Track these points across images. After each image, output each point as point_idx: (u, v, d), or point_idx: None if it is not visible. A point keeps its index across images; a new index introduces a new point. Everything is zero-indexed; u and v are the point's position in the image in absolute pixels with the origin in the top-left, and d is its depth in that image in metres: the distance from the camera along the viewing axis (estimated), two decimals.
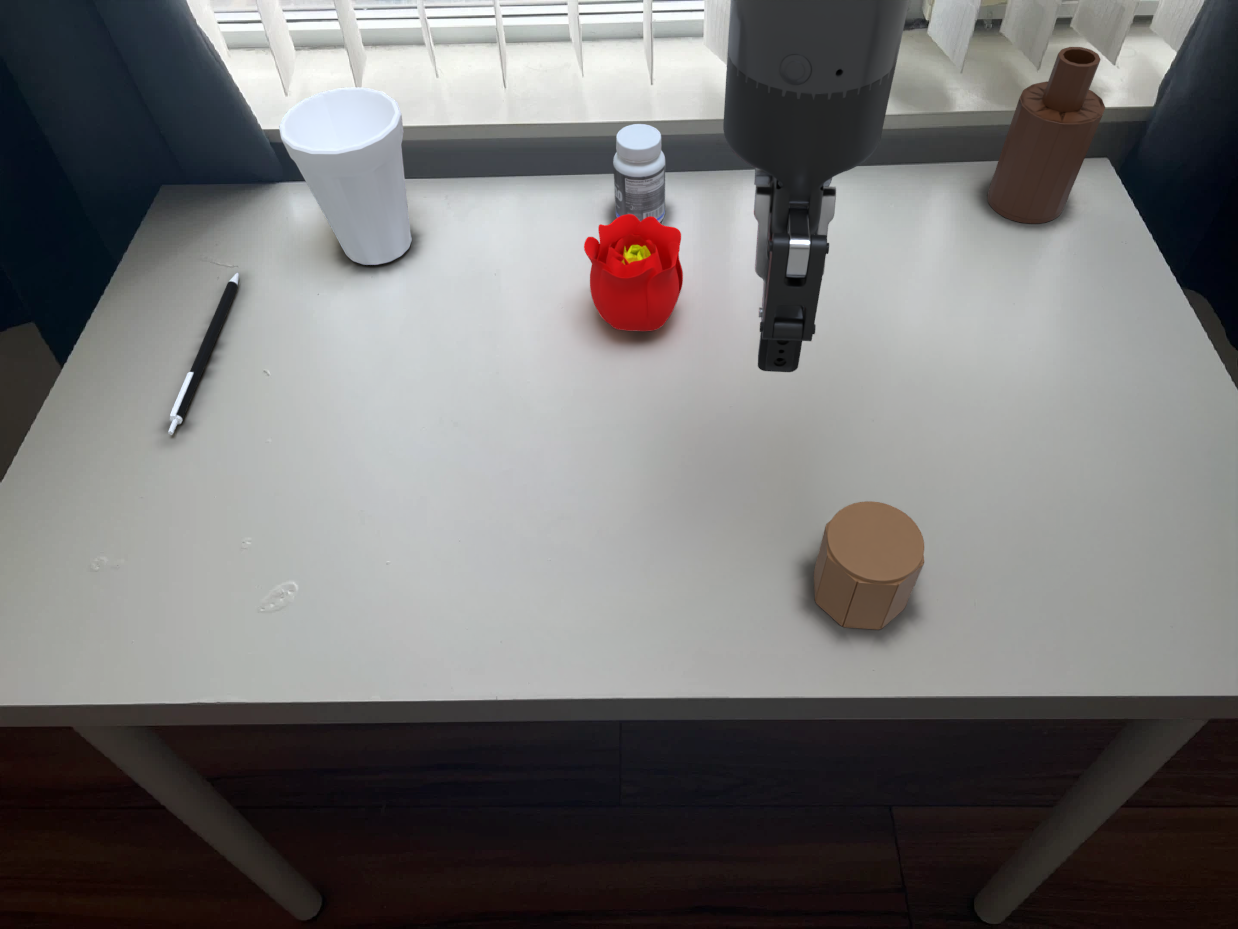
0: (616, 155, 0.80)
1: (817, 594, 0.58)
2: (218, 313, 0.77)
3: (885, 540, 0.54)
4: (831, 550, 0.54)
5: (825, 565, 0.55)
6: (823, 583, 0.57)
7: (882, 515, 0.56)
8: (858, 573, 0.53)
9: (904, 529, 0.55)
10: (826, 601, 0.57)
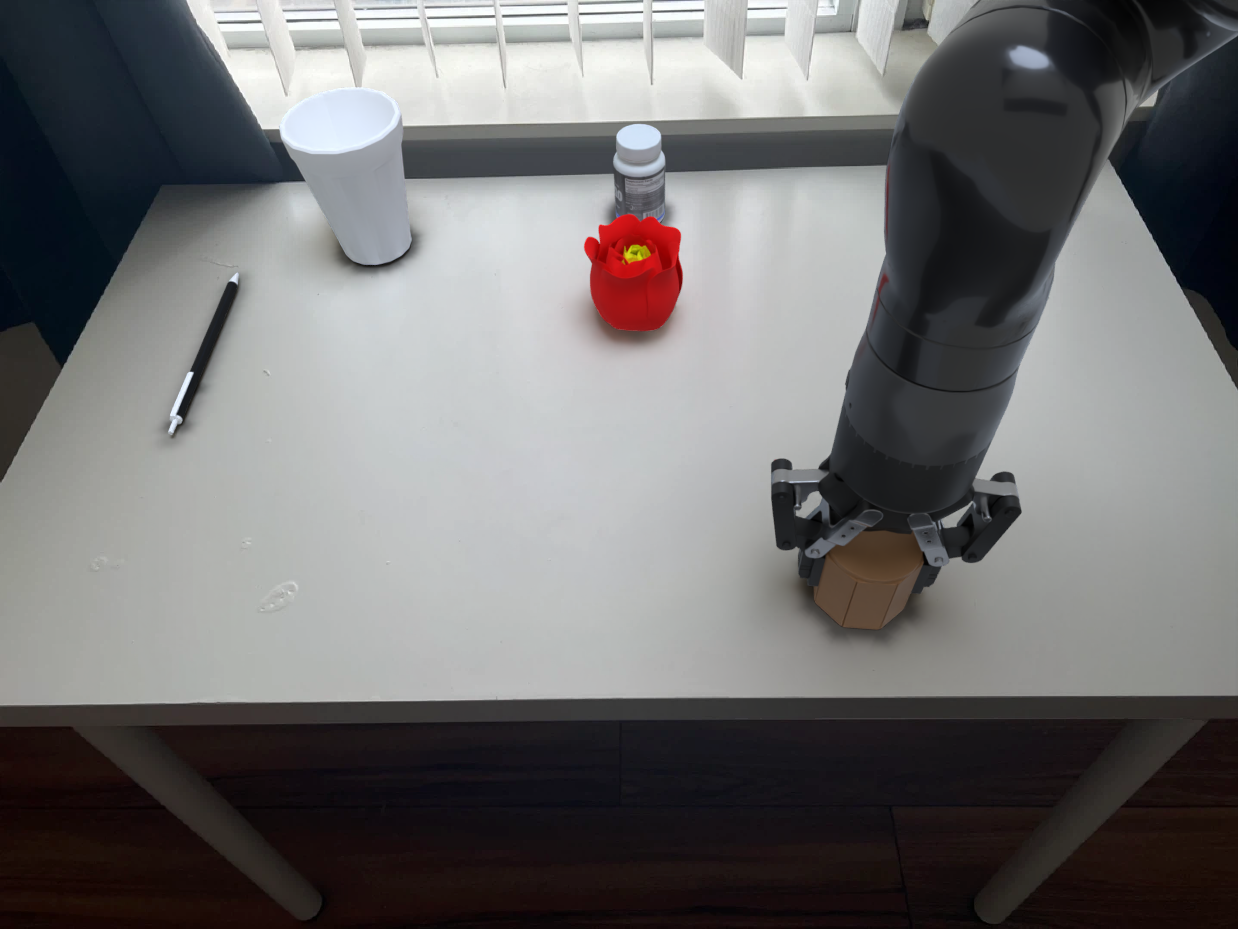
0: (616, 155, 0.80)
1: (816, 594, 0.58)
2: (218, 313, 0.77)
3: (884, 540, 0.54)
4: (830, 550, 0.54)
5: (824, 565, 0.55)
6: (822, 583, 0.57)
7: None
8: (858, 573, 0.53)
9: None
10: (826, 601, 0.57)
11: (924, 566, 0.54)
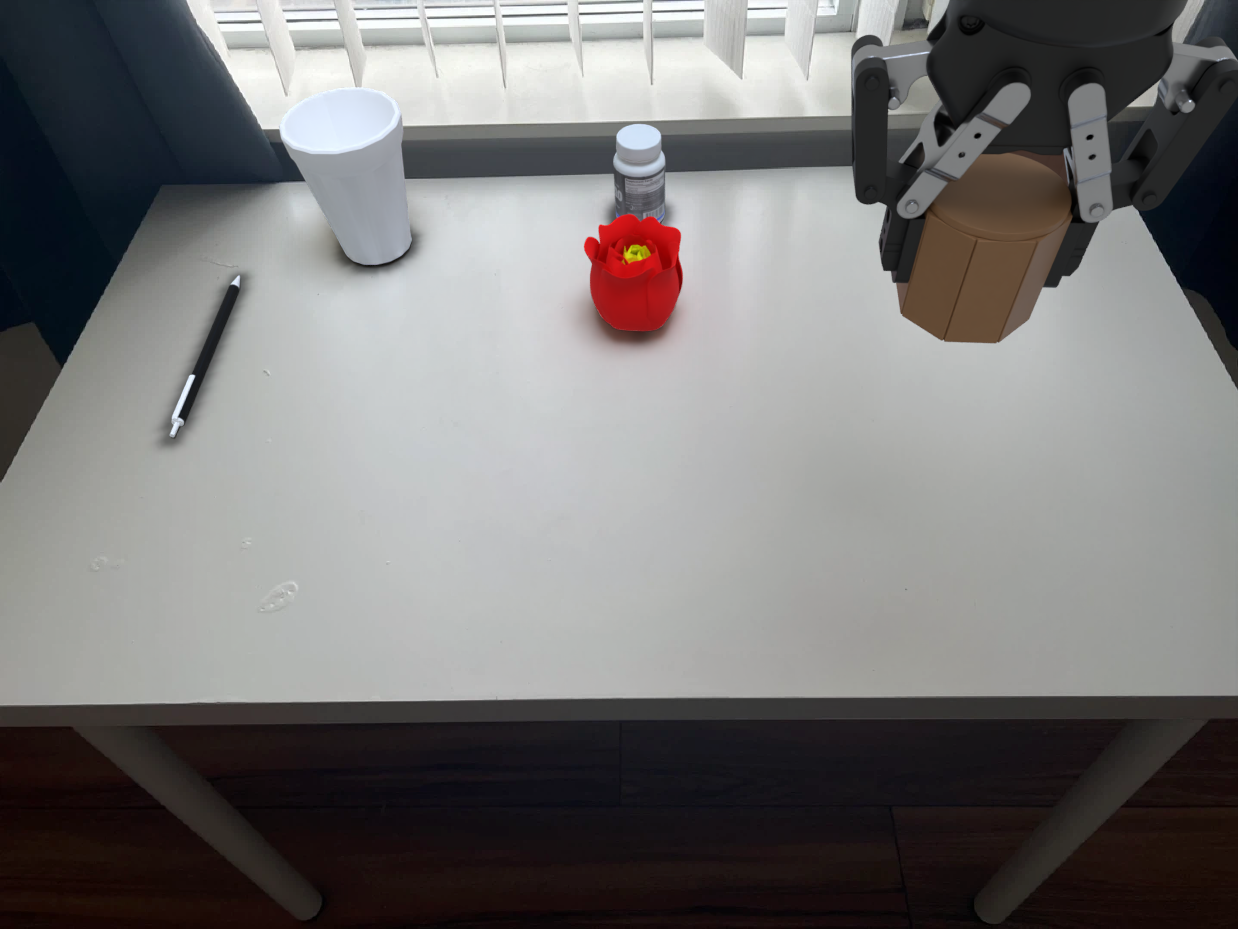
0: (616, 155, 0.80)
1: (905, 298, 0.41)
2: (219, 316, 0.77)
3: (1012, 190, 0.37)
4: (934, 203, 0.37)
5: (923, 234, 0.38)
6: (917, 271, 0.39)
7: (1004, 164, 0.38)
8: (978, 226, 0.36)
9: (1038, 178, 0.38)
10: (920, 303, 0.40)
11: (1072, 225, 0.37)
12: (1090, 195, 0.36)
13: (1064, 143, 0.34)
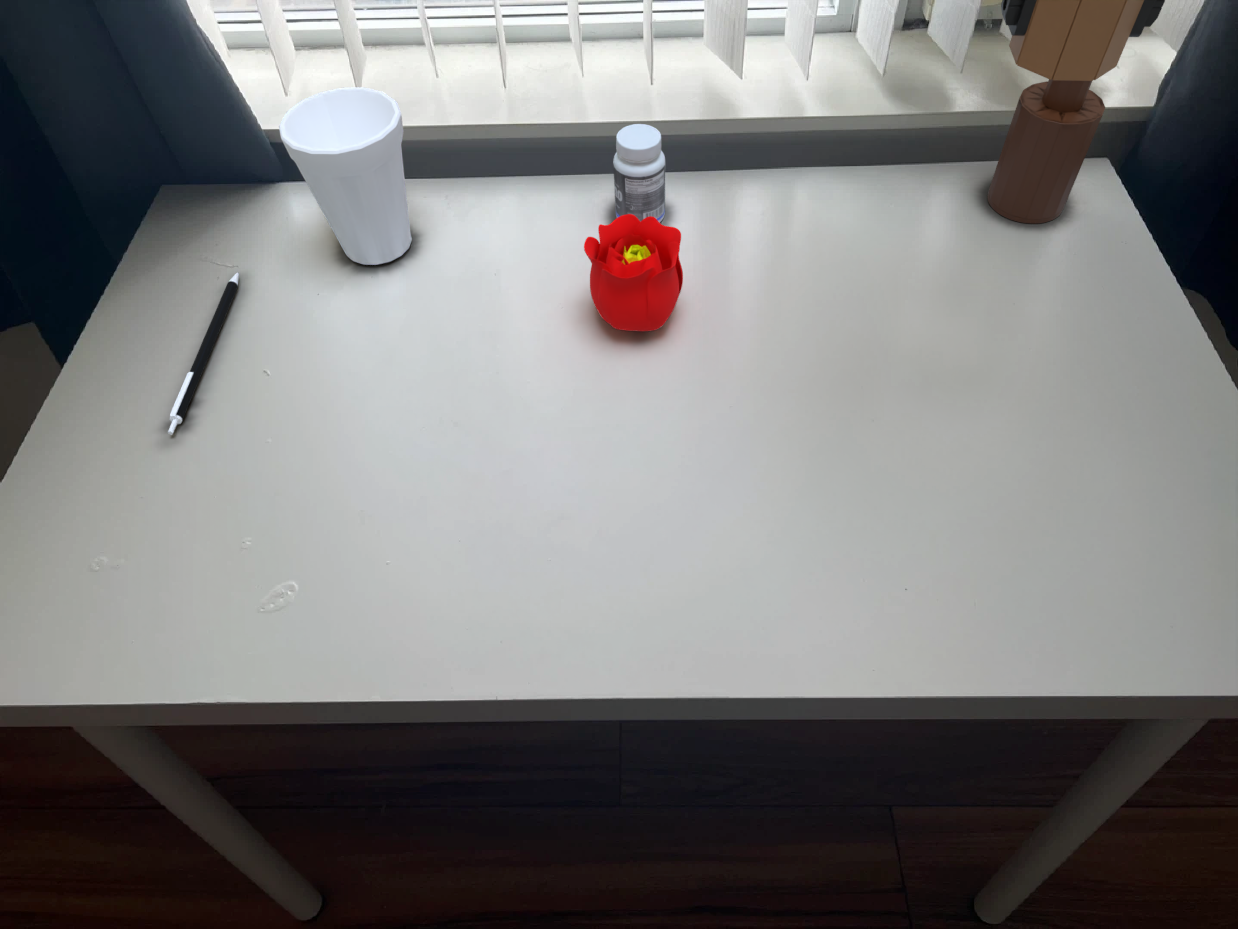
0: (616, 155, 0.80)
1: (1021, 48, 0.53)
2: (218, 313, 0.77)
3: None
4: None
5: None
6: (1034, 20, 0.51)
7: None
8: None
9: None
10: (1034, 49, 0.52)
11: None
12: None
13: None
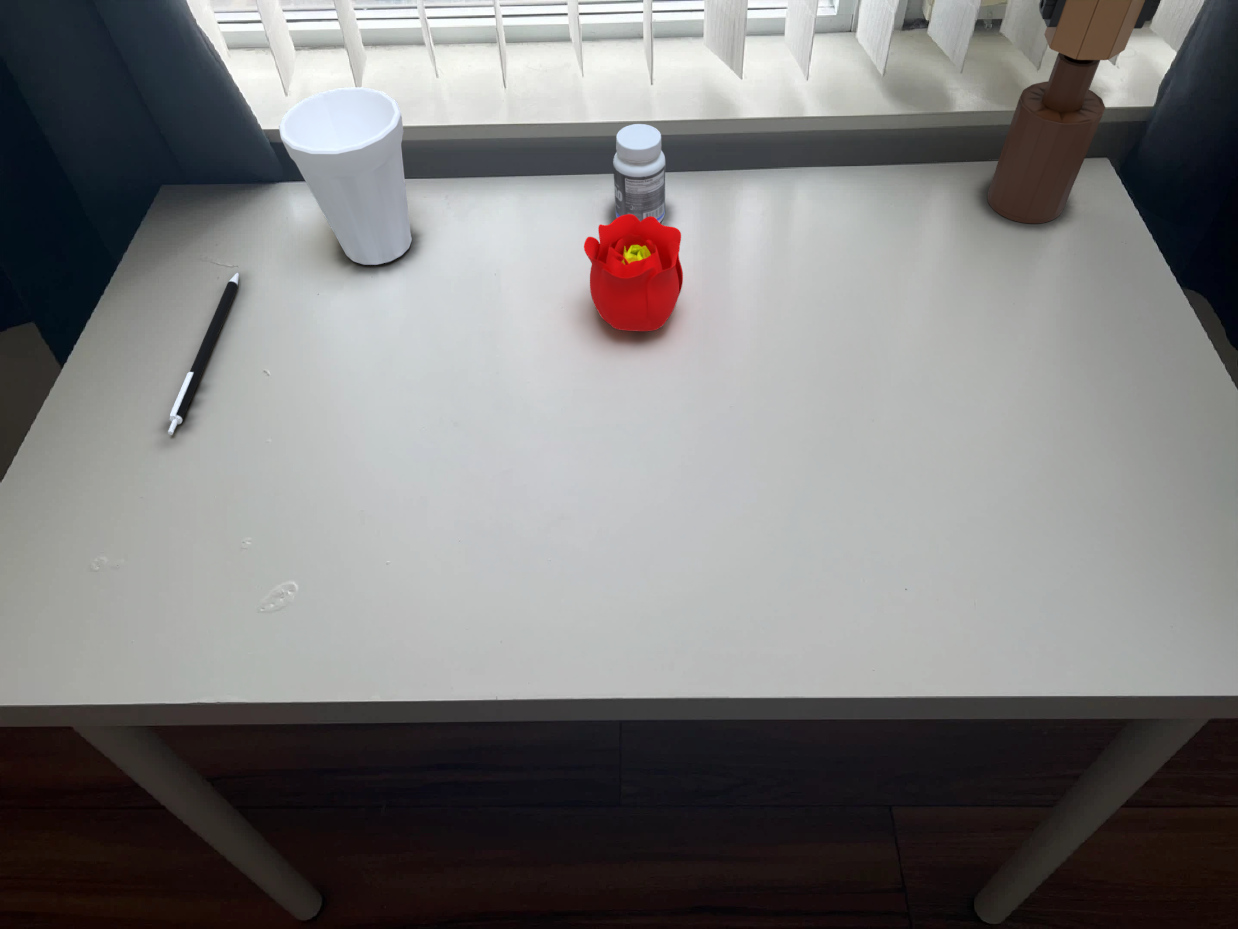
0: (616, 155, 0.80)
1: (1054, 36, 0.71)
2: (218, 313, 0.77)
3: None
4: None
5: None
6: (1064, 15, 0.70)
7: None
8: None
9: None
10: (1063, 36, 0.71)
11: None
12: None
13: None
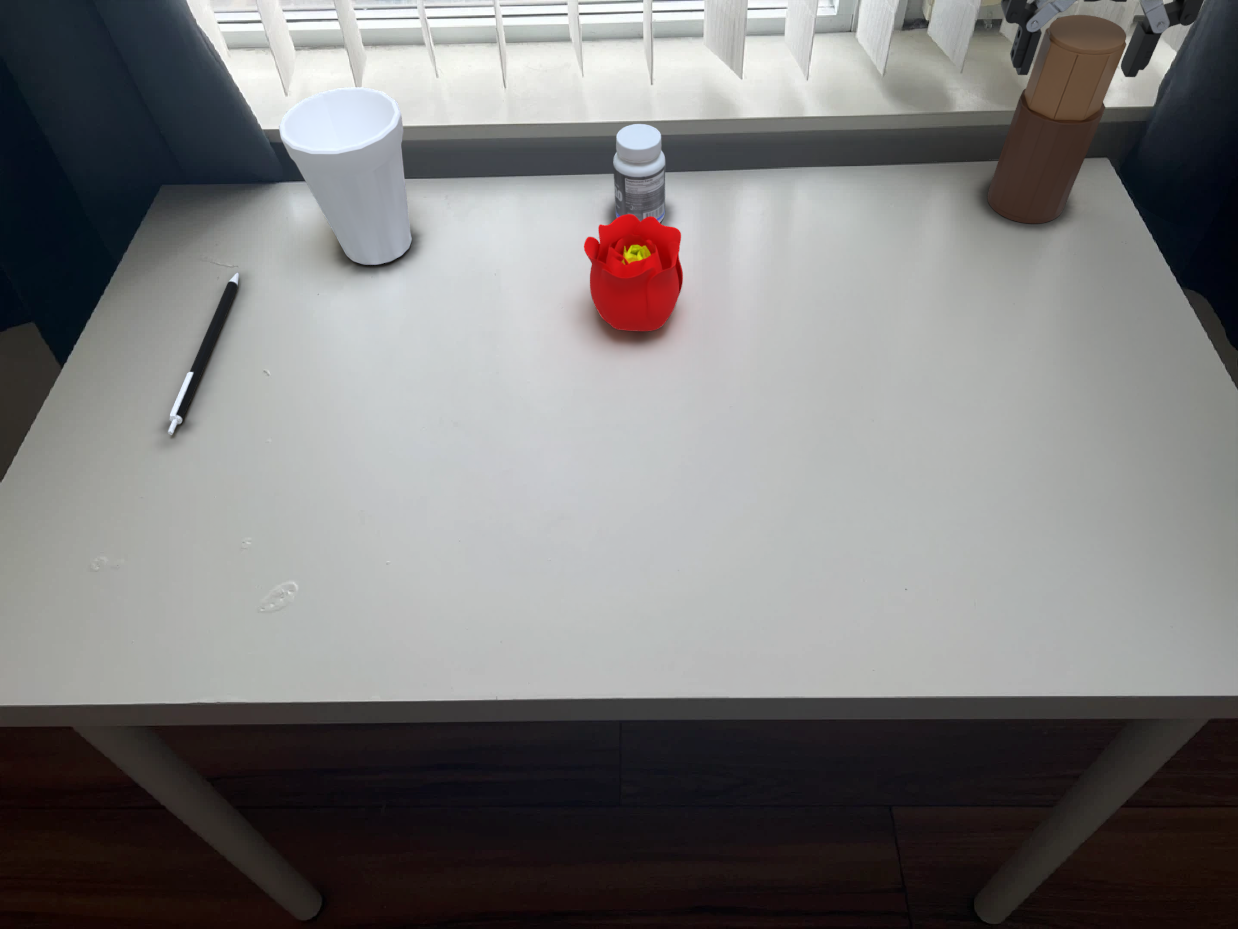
0: (616, 155, 0.80)
1: (1032, 97, 0.75)
2: (218, 313, 0.77)
3: (1095, 31, 0.72)
4: (1055, 37, 0.71)
5: (1047, 56, 0.72)
6: (1041, 78, 0.74)
7: (1089, 20, 0.73)
8: (1079, 46, 0.70)
9: (1108, 26, 0.72)
10: (1041, 98, 0.75)
11: (1147, 35, 0.70)
12: (1155, 18, 0.69)
13: None
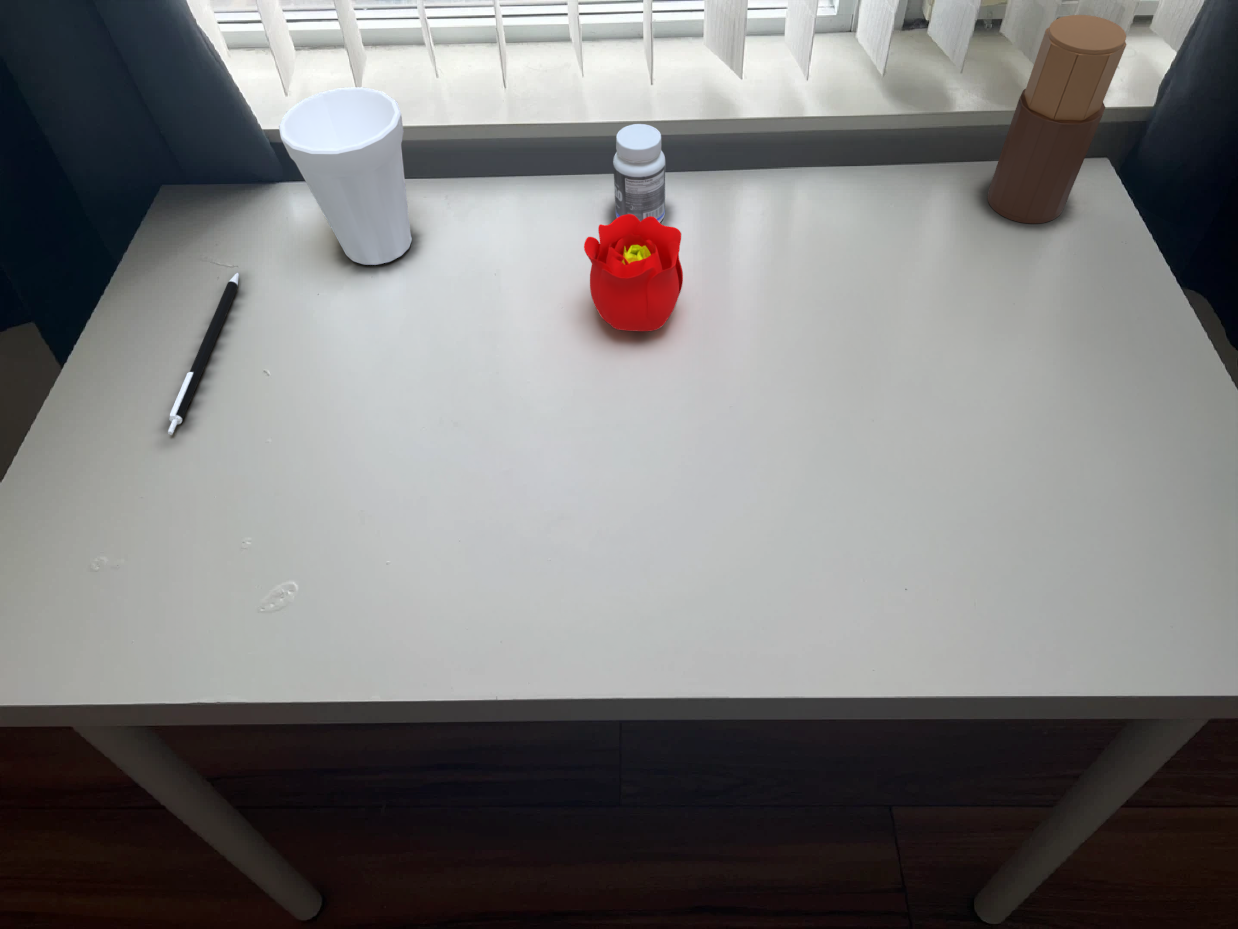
0: (616, 155, 0.80)
1: (1032, 97, 0.75)
2: (218, 313, 0.77)
3: (1095, 31, 0.72)
4: (1055, 37, 0.71)
5: (1047, 56, 0.72)
6: (1041, 78, 0.74)
7: (1089, 20, 0.73)
8: (1079, 46, 0.70)
9: (1108, 26, 0.72)
10: (1041, 98, 0.75)
11: None
12: None
13: None
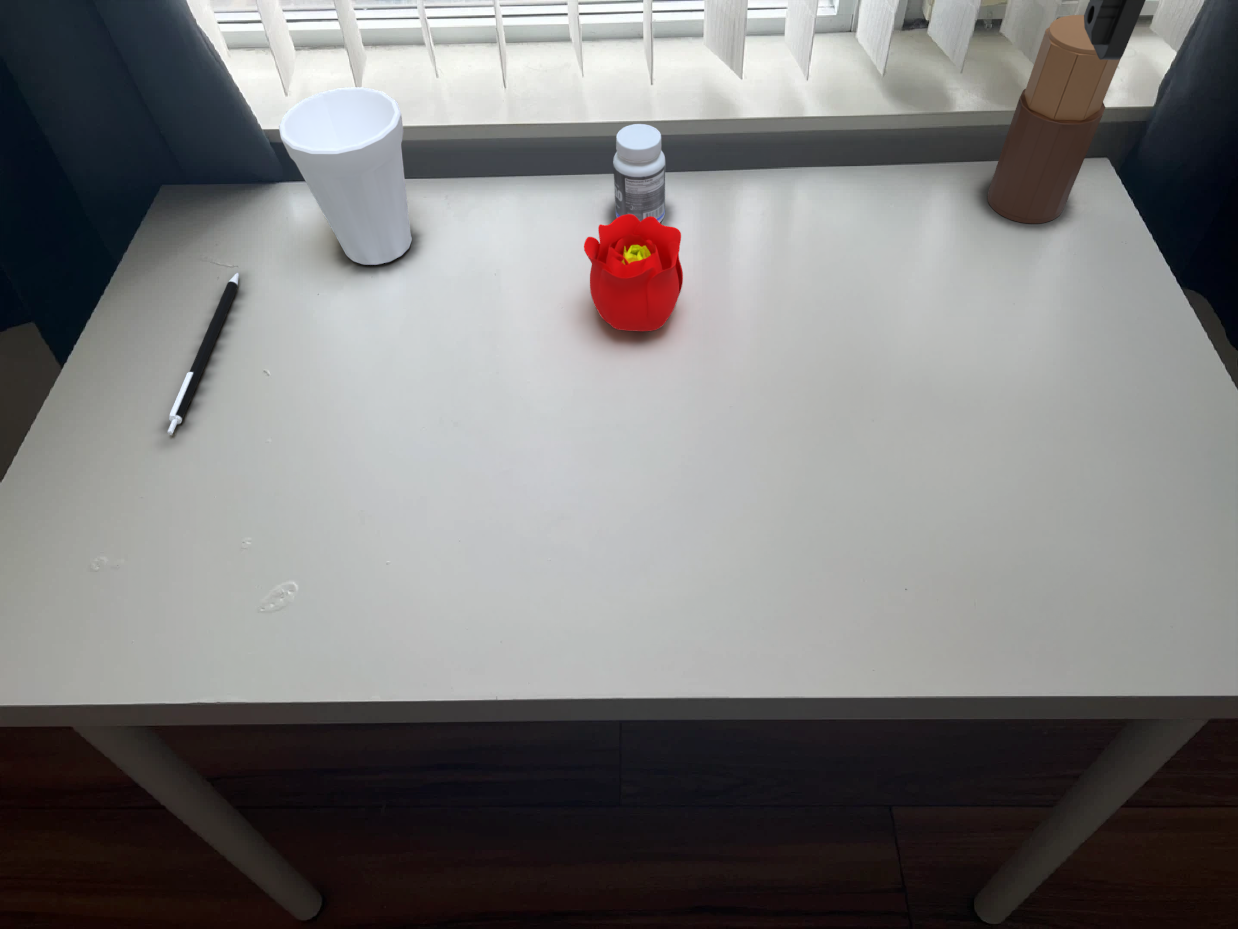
0: (616, 155, 0.80)
1: (1032, 97, 0.75)
2: (217, 313, 0.77)
3: None
4: (1055, 37, 0.71)
5: (1047, 56, 0.72)
6: (1041, 78, 0.74)
7: None
8: (1079, 46, 0.70)
9: None
10: (1041, 98, 0.75)
11: None
12: None
13: None
